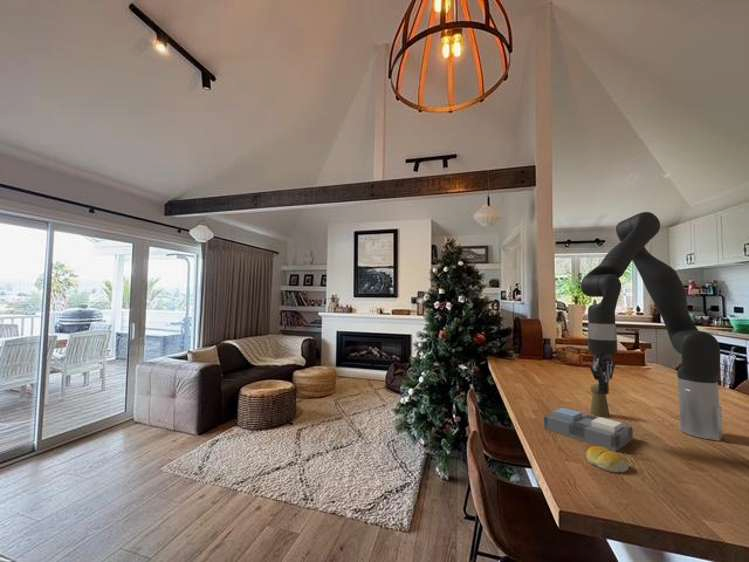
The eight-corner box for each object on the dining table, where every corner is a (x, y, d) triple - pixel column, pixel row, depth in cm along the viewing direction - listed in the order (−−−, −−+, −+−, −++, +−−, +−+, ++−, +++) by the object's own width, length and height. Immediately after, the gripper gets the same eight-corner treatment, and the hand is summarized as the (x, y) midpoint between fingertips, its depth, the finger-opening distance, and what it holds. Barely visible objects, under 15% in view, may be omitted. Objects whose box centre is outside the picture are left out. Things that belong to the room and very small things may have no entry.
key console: (632, 439, 99) (632, 426, 99) (615, 451, 91) (614, 437, 91) (564, 419, 115) (564, 408, 115) (544, 428, 107) (544, 416, 107)
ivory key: (622, 431, 98) (621, 422, 98) (614, 435, 94) (614, 427, 94) (599, 424, 103) (599, 416, 103) (591, 429, 99) (591, 420, 99)
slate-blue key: (581, 420, 107) (581, 412, 107) (573, 424, 103) (573, 416, 104) (562, 414, 112) (562, 407, 112) (554, 418, 108) (554, 410, 109)
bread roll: (602, 455, 89) (601, 440, 89) (635, 471, 80) (634, 455, 81) (578, 458, 87) (577, 443, 88) (608, 475, 79) (608, 458, 79)
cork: (613, 417, 117) (611, 387, 118) (594, 416, 118) (593, 386, 119) (604, 412, 123) (603, 383, 124) (587, 411, 124) (586, 382, 125)
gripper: (607, 340, 94) (609, 400, 93) (624, 337, 101) (626, 393, 100) (579, 337, 100) (580, 394, 99) (597, 335, 107) (599, 387, 106)
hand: (603, 393), depth 100 cm, fingers closed
